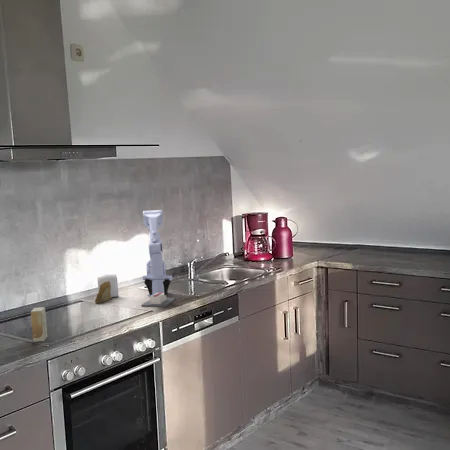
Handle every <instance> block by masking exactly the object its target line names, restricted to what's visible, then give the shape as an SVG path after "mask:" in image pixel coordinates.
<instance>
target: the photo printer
mask: <svg viewBox="0 0 450 450" xmlns="http://www.w3.org/2000/svg"><path fill="white" fill-rule="evenodd" d="M108 281H109V282H110V283H111V291H110V293H111V298H116V297H119V296H120V295H119V285H118V284H119V283H118V277H117V274H116V273H104V274H101V275H99V276H97V291H98V292H99V289H100V285H102V284H103V283H104V282H108Z"/></svg>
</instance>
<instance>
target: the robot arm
mask: <svg viewBox="0 0 450 450" xmlns="http://www.w3.org/2000/svg"><path fill="white" fill-rule="evenodd" d="M142 216H143V217H142V219H143V225H144V227H146V228H148V231H149V233H148V242H149V243H148V253H149V260H148V261H147V262H146V275H143V276H142V281H144V282H143V284H144V285H145V286H146V289H147V291H148V294H147V297H148V296H149V297H150V296H152V295H154V294H155V293H159V292H163V293H164V295H166V296H167V295H168V292H169V291H168V290H169V287H170V285H171V281H172V280H173V275H167V271H166V263H165V261H164V259H163V253H164V251H163V250H164V249H163V248H164V247H163V242H162V238H161V237H162V236H161V232H159V228H160V227H162V226H163V220H164V217H163V210H162V209H157V210H153V209H152V210H143V211H142Z"/></svg>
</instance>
